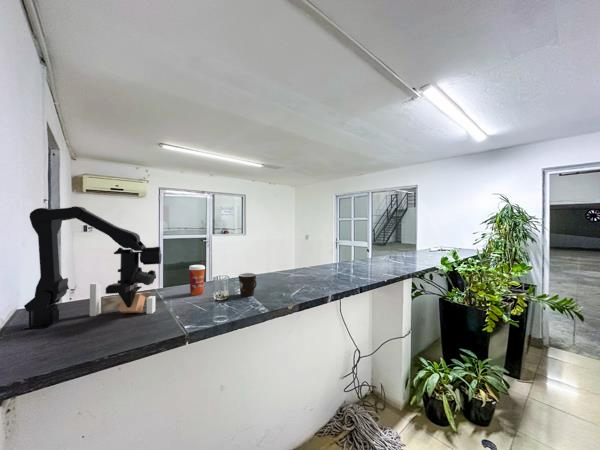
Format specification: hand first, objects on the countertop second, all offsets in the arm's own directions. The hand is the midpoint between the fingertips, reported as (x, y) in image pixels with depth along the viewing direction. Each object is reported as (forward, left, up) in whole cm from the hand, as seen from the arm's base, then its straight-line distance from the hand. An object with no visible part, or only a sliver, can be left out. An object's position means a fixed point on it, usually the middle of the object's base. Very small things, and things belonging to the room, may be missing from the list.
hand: (129, 307), depth 91 cm
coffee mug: (+43, +22, -4) cm, 48 cm away
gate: (-4, +7, -2) cm, 8 cm away
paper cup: (+18, +28, -4) cm, 33 cm away
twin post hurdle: (-4, +4, -3) cm, 7 cm away
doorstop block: (0, +2, -2) cm, 3 cm away
